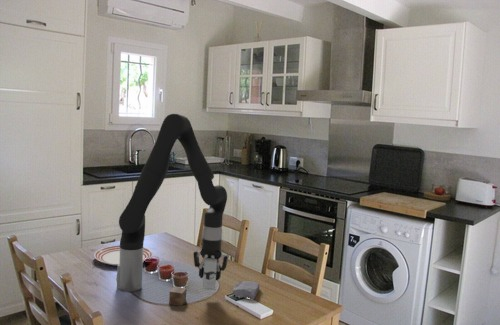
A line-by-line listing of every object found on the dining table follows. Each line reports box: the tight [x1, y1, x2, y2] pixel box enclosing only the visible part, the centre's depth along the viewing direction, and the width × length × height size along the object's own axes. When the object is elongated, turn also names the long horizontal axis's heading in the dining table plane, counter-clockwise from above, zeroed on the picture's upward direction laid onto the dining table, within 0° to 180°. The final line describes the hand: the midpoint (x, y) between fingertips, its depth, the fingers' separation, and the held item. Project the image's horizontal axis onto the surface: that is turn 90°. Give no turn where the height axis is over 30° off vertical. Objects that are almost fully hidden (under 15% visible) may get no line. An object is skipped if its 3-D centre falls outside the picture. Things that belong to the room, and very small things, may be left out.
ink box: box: [202, 258, 217, 291], centre depth 174 cm, size 8×5×12 cm, turn 4°
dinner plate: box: [93, 244, 154, 267], centre depth 215 cm, size 28×27×3 cm
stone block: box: [232, 280, 260, 301], centre depth 183 cm, size 12×5×10 cm
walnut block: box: [168, 286, 187, 307], centre depth 171 cm, size 5×5×5 cm
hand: (209, 278), depth 174 cm, fingers closed on ink box, 5 cm apart
